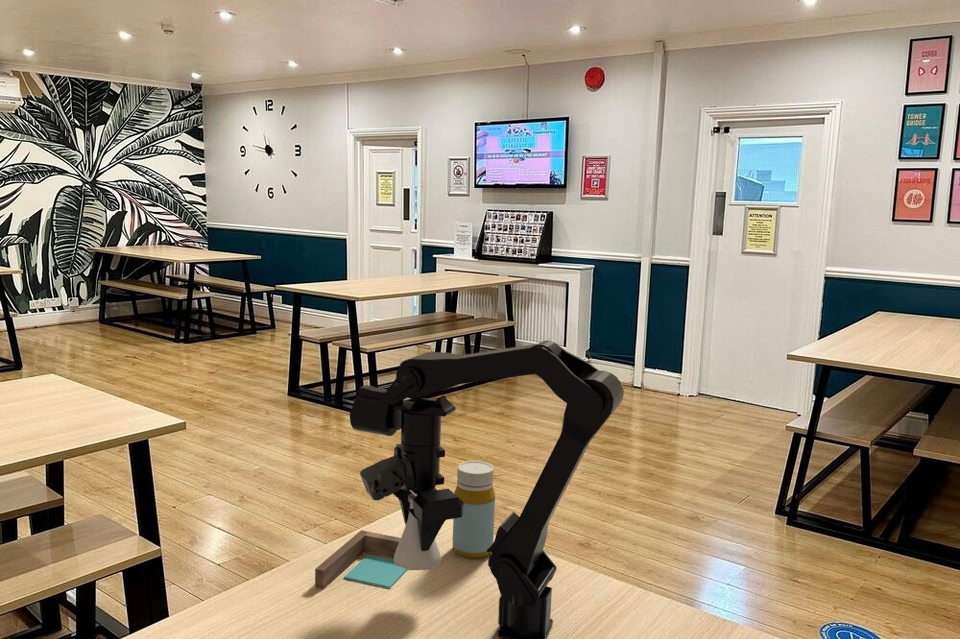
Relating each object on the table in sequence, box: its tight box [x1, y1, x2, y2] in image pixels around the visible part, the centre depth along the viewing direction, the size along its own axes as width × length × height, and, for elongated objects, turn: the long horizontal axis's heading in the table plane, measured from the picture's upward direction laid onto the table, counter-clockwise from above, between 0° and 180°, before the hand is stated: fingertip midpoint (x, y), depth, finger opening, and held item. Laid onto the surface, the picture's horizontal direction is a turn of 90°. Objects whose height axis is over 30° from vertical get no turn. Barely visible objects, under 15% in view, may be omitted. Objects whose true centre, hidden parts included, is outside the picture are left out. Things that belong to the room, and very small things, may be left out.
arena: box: [314, 530, 401, 590], centre depth 118 cm, size 11×15×3 cm
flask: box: [393, 494, 442, 571], centre depth 108 cm, size 7×7×10 cm
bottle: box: [452, 460, 496, 559], centre depth 126 cm, size 7×7×15 cm
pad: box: [343, 554, 408, 589], centre depth 118 cm, size 8×8×1 cm
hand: (417, 542), depth 108 cm, fingers closed on flask, 5 cm apart
